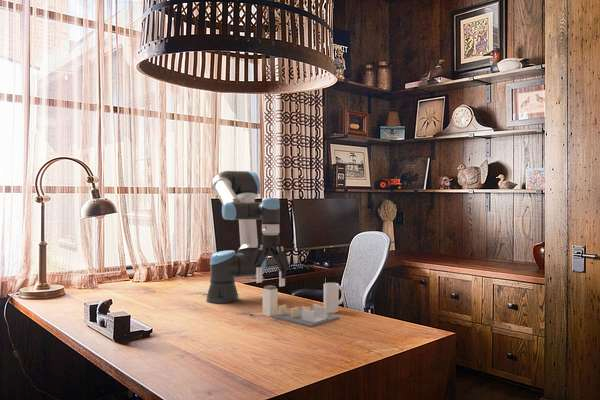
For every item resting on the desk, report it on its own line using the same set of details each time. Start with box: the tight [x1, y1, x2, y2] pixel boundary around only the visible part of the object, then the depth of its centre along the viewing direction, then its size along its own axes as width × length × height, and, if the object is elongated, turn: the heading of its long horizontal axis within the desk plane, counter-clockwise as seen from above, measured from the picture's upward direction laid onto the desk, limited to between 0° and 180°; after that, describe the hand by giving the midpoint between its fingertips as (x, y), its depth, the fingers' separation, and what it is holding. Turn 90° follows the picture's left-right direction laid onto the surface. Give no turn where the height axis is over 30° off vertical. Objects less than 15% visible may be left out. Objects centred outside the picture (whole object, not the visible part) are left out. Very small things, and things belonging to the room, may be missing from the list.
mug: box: [323, 282, 345, 314], centre depth 217 cm, size 10×7×12 cm, turn 116°
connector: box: [261, 284, 279, 317], centre depth 210 cm, size 4×4×12 cm
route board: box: [271, 303, 340, 328], centre depth 204 cm, size 21×18×5 cm
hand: (270, 284), depth 209 cm, fingers open, 13 cm apart
